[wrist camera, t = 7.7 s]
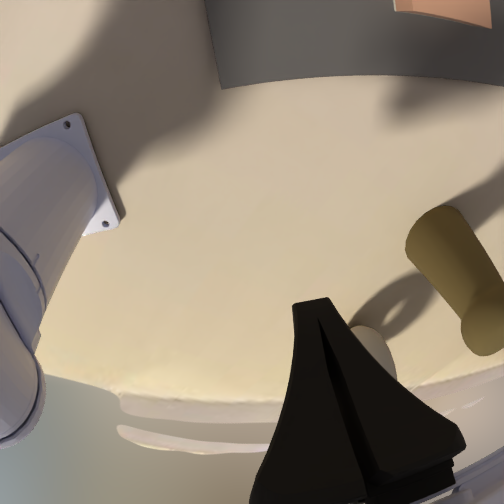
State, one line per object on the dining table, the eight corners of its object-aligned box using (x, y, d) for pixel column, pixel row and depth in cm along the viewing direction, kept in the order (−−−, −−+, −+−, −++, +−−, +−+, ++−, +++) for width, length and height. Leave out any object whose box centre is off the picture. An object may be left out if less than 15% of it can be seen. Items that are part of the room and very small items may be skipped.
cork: (391, 249, 23) (456, 364, 15) (441, 192, 20) (531, 295, 12) (429, 273, 26) (485, 372, 17) (472, 226, 23) (545, 317, 14)
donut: (357, 359, 33) (381, 437, 25) (328, 364, 33) (349, 446, 25) (376, 300, 27) (416, 395, 19) (340, 305, 27) (374, 407, 19)
